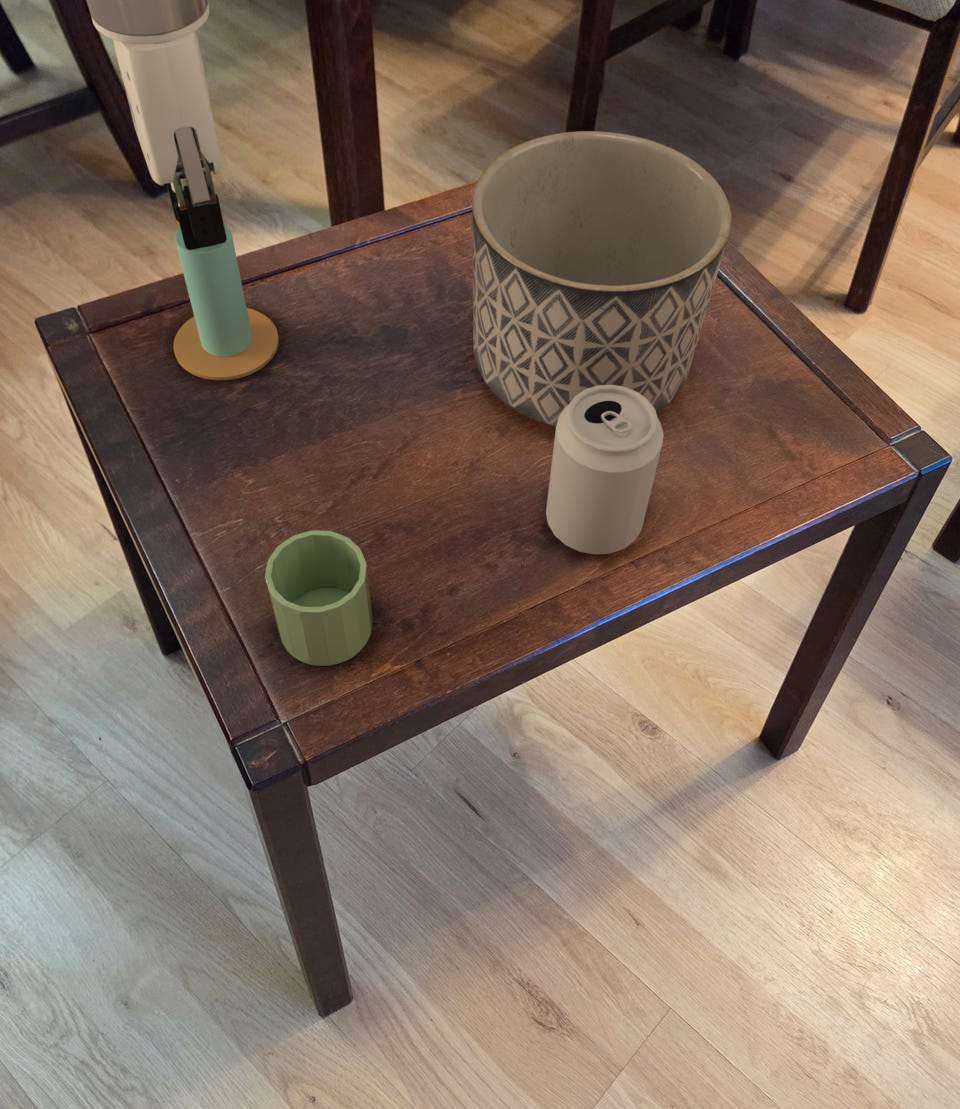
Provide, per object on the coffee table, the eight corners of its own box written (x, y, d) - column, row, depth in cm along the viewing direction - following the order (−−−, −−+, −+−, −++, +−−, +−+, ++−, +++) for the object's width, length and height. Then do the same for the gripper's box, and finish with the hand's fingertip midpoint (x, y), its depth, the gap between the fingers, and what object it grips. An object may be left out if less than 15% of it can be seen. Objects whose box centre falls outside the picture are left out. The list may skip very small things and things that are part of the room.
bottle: (207, 362, 90) (164, 190, 76) (196, 329, 93) (152, 156, 79) (257, 350, 91) (224, 178, 78) (245, 318, 94) (210, 145, 80)
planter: (468, 448, 86) (472, 287, 72) (468, 291, 97) (471, 128, 84) (704, 450, 86) (750, 291, 73) (676, 294, 97) (712, 132, 84)
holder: (293, 678, 73) (280, 624, 67) (269, 603, 76) (254, 546, 71) (384, 649, 74) (378, 594, 69) (356, 577, 78) (349, 519, 72)
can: (603, 471, 85) (623, 361, 75) (661, 535, 81) (690, 428, 71) (526, 509, 82) (536, 400, 72) (582, 576, 78) (601, 471, 69)
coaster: (186, 391, 89) (185, 387, 88) (165, 322, 94) (164, 319, 93) (290, 365, 91) (289, 362, 90) (264, 300, 96) (263, 296, 95)
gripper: (68, -56, 71) (134, 181, 86) (108, 66, 63) (174, 307, 77) (178, -72, 73) (224, 163, 88) (233, 45, 64) (274, 284, 79)
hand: (200, 228), depth 83 cm, fingers closed on bottle, 2 cm apart
